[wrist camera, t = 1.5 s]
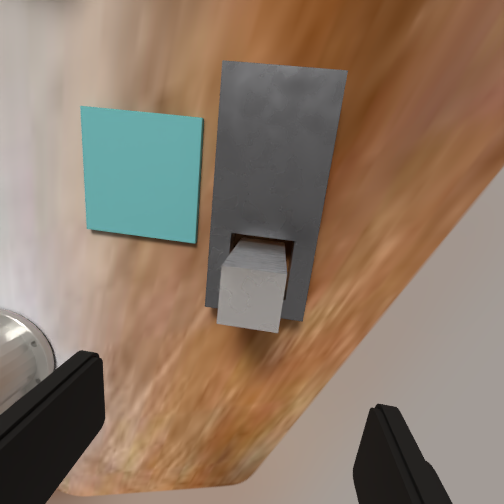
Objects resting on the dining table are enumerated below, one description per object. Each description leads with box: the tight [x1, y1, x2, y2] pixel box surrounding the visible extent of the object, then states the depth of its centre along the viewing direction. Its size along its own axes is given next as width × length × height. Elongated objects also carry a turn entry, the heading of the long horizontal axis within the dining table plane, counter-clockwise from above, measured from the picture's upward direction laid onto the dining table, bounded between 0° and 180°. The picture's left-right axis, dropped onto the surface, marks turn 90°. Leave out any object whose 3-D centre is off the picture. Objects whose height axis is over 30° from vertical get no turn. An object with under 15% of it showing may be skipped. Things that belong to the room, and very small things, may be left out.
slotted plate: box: [205, 61, 348, 321], centre depth 25 cm, size 22×10×2 cm, turn 174°
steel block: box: [217, 237, 287, 333], centre depth 23 cm, size 4×4×10 cm
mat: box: [80, 106, 204, 243], centre depth 26 cm, size 12×12×1 cm
